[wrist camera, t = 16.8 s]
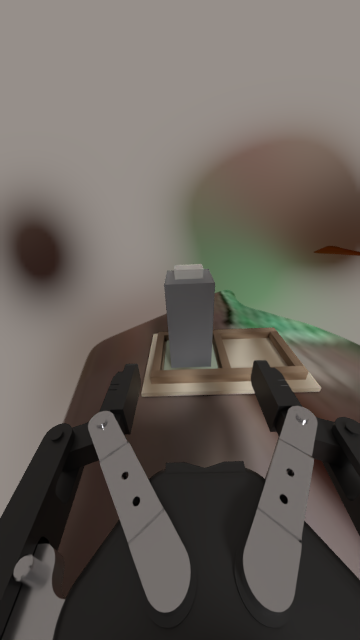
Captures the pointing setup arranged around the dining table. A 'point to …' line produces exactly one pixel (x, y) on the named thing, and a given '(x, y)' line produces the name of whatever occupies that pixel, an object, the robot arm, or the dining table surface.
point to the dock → (225, 365)
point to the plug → (190, 315)
